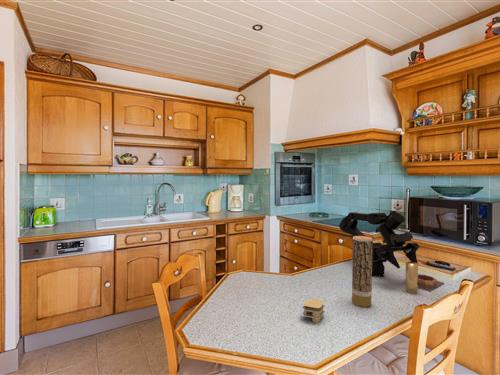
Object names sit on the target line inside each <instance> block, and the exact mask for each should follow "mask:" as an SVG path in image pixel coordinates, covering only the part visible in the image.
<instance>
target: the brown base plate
mask: <svg viewBox="0 0 500 375" xmlns="http://www.w3.org/2000/svg"><path fill="white" fill-rule="evenodd" d="M444 284H445V282H443V281H440V280H438V279H437V278H435V277H433V276H431V275H427V274H419V273H418V289H420V290H424V291H427V292H432V291H434V290H436V289H438V288H439V287H441V286H443V285H444Z"/></svg>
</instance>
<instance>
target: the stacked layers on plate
mask: <svg viewBox="0 0 500 375" xmlns="http://www.w3.org/2000/svg"><path fill="white" fill-rule="evenodd" d="M302 304H303V306H302V309H303V312H302V314H303V316H304V317H307V318H311V319H312V323H314V324H318V323H321V319H322V318H323V317H324V314H325V310H324V308H325V301H324V300H321V299H317V298H312V299H309V300H306V301H304V302H302Z"/></svg>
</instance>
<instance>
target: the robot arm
mask: <svg viewBox="0 0 500 375" xmlns="http://www.w3.org/2000/svg"><path fill="white" fill-rule="evenodd" d="M359 221H361V222H367V223H368V224H371V225H373V226H376V225H377V226H376V229H375V233H376V234H378V233H379V234H380V235H381V237H382V239H383V240H382V243H383V244H382V243H381V242H374V241H372V277H373V276H374V277H382V278H383V277H385V265H384V263H387V262H389V263H390V264H391V265H393V266H394V267H395V268H397V269H400V268H401V266H400V264H399V262H398V260H397V258H396V256H395V253H394V252H403V253H404V254H405V256H406V258H407V259H408V260H409V262H415V263H417V264H418V265H419V262H418V258H417V251H418V250H419V249H420V245H419V243H417V242H415V241H414V242H411V241H412V240H413V238H414V236H413V234H412V233H411V231H405V232H404V233H396V232H395V231H396V230H398V229H399V228H400V227H401V226H402V225H403V224H404V223H405V221H406V219H405V216H404V215H402V214H400V212H397V211H396V210H391V211H390V212H389V214H387V213H385V212H371V213H364V212H357V211H353V212H349V213H348V214H346V216H345V217H343V218H342V220H341V221H340V222H339V224H338V225H339V226H338V227H339V229H340V231H342V232H343V233H345V234H348V235H350V236H351V237H352V238H353V237H354V236H366V234H364V233H363V232H362V231H361V230H360V229H358V224H359ZM378 225H379V226H378ZM407 242H408V243H407ZM406 243H407V244H406Z"/></svg>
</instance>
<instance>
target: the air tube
mask: <svg viewBox="0 0 500 375" xmlns="http://www.w3.org/2000/svg"><path fill="white" fill-rule="evenodd" d="M418 274H419V263H418V264H417V263H415V262H411V261H405V279H404V280H405V282H404V285H405V287H404V289H405V293H407V294H411V295H417V294H418V292H419V290H418V289H419V288H418Z"/></svg>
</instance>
